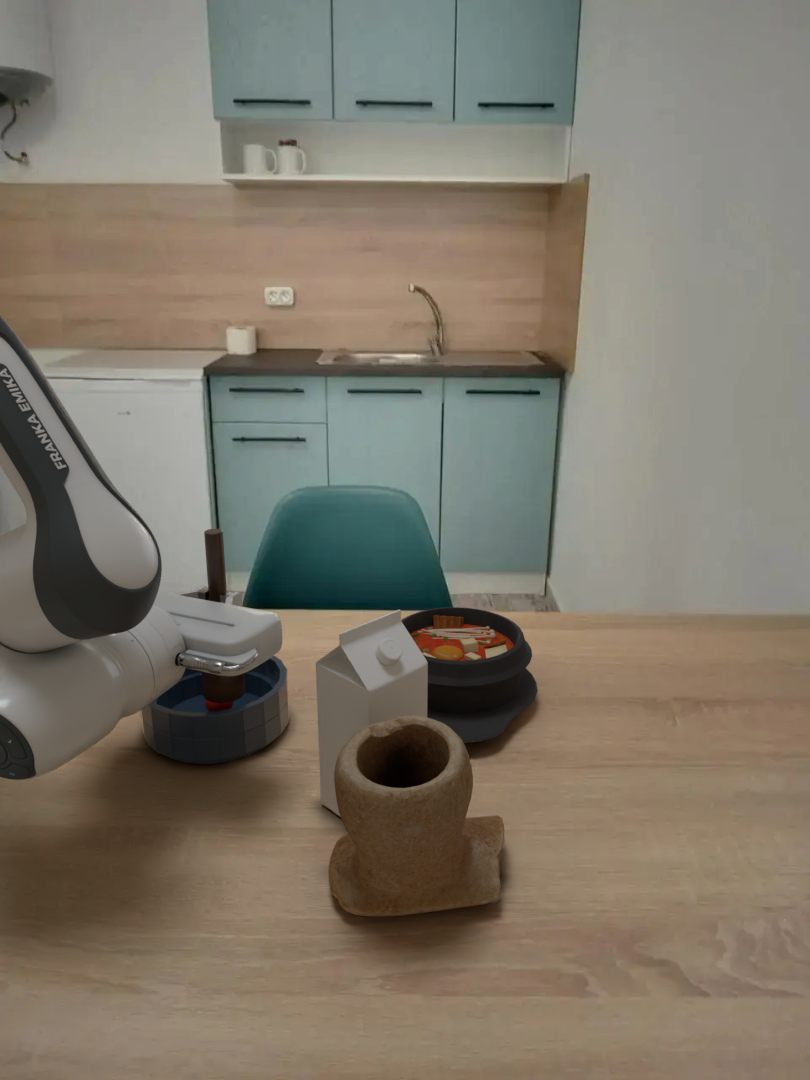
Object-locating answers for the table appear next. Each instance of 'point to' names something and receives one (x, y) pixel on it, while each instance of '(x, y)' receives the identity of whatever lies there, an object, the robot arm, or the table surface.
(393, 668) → the milk carton
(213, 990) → the table surface
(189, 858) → the table surface
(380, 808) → the stone cup
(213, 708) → the red ball
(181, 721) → the bowl
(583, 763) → the table surface
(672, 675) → the table surface
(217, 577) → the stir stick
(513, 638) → the casserole
